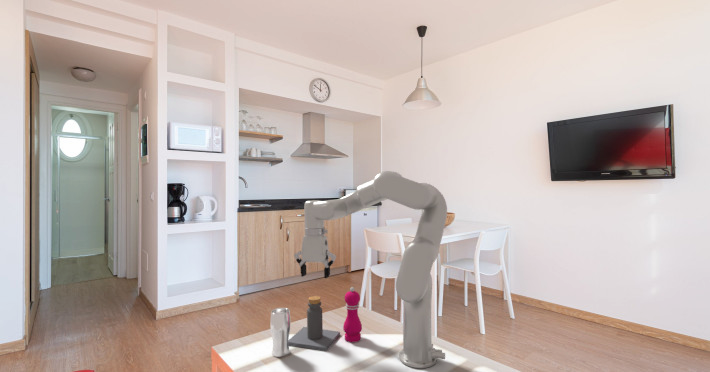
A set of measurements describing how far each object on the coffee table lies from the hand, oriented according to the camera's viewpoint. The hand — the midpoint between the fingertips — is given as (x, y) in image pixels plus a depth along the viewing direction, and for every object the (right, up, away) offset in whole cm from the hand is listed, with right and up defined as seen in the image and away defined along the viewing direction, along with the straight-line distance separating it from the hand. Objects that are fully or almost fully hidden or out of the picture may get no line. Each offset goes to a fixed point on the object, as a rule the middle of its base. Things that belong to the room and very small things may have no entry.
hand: (315, 276), depth 131 cm
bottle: (0, -23, 0) cm, 23 cm away
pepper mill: (+14, -24, 0) cm, 28 cm away
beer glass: (-11, -25, -10) cm, 29 cm away
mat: (0, -24, 0) cm, 24 cm away
